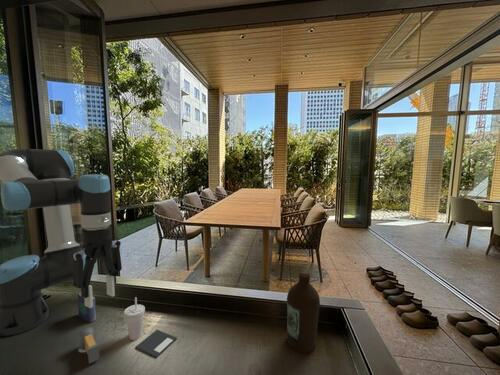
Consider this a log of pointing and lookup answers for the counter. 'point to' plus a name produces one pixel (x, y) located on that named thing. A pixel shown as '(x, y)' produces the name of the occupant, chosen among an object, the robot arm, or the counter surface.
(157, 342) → the pad
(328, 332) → the counter surface
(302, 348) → the olive oil
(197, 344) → the counter surface
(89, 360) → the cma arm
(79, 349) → the base
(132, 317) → the smoothie
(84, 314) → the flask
